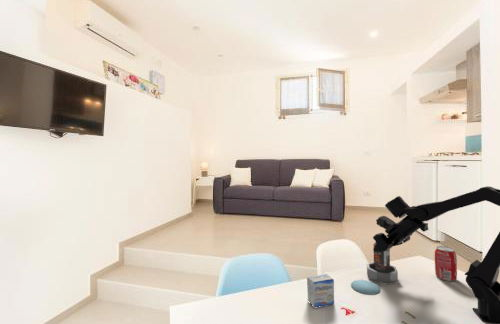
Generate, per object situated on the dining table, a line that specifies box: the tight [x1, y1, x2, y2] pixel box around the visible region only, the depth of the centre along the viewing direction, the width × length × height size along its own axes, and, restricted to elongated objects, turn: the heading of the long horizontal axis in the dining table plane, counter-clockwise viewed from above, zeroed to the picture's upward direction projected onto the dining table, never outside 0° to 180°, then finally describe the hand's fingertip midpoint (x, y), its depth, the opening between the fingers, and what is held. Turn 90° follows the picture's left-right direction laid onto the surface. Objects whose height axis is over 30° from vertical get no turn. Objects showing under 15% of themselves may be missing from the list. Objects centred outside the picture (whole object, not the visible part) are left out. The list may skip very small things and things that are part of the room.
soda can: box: [434, 245, 458, 282], centre depth 101 cm, size 7×7×12 cm
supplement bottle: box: [372, 241, 391, 268], centre depth 103 cm, size 6×6×11 cm
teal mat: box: [350, 279, 381, 295], centre depth 95 cm, size 10×10×1 cm
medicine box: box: [306, 274, 335, 308], centre depth 86 cm, size 8×4×9 cm, turn 105°
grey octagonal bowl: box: [366, 261, 399, 285], centre depth 103 cm, size 11×11×4 cm
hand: (378, 249), depth 104 cm, fingers closed on supplement bottle, 6 cm apart
